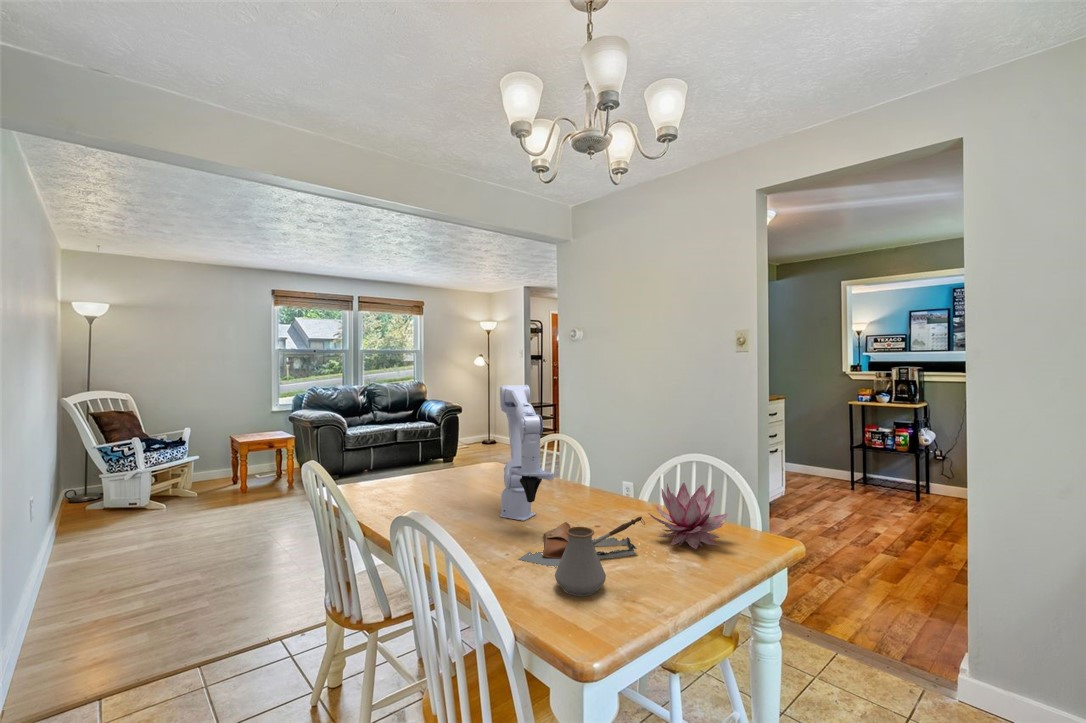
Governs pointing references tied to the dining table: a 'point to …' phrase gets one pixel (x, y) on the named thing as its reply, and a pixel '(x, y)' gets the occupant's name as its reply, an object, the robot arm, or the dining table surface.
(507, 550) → the dining table surface
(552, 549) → the sunglasses case
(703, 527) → the decorative flower
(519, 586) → the dining table surface
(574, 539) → the coffee pot
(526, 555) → the rubber mat
